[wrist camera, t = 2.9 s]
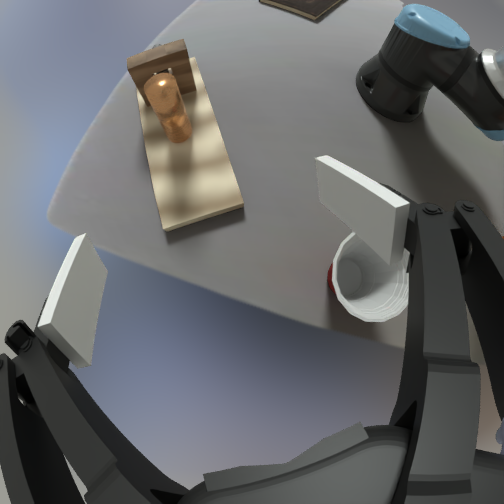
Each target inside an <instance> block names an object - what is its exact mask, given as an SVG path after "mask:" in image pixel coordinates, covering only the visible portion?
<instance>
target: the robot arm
mask: <svg viewBox="0 0 504 504" xmlns="http://www.w3.org/2000/svg"><path fill="white" fill-rule="evenodd" d="M469 45H470V38H469V36H468V35H467V33H466V32H465V30H463V29H462V28H461V27H460V26H459V25H458V24H457V23H456V22H455V21H453V20H452V19H451V18H449V17H448V16H446V15H444V14H442V13H441V12H439V11H437V10H435V9H432V8H430V7H427V6H424V5H420V4H410V5H407V6H405V7H404V8H403V10H402V11H401V13H400V14H399V16H398V17H396V19H395V23H394V25H393V27H392V29H391V31H390V33H389V35H388V37H387V38H386V40H385V42H384V44H383V46H382V48H381V49H380V51H379V53H378V54H377V55H375V56H374V57H373V58H371V59H370V60H368V61H367V62H366V63H364V64H363V65H362V66H361V68H360V69H359V71H358V73H357V76H356V85H357V88H358V90H359V92H360V94H361V95H362V97H363V98H364V100H365V101H366V102H367V103H368V104H369V105H370V106H371V107H372V108H373V109H375V110H376V111H377V112H379V113H380V114H382V115H384V116H385V117H387V118H390V119H392V120H395V121H399V122H410V121H413V120H414V119H416V118H417V117H418V116H419V115H420V113H421V112H422V111H423V108H424V105H425V102H426V99H427V95H428V92H429V90H430V89H431V88H432V86H433V85H434V86H435V87H436V88H437V89H439V90H440V91H441V92H442V93H443V94H444V95H445V96H446V97H448V98H449V99H450V100H451V101H452V102H453V103H454V104H455V105H456V106H457V107H458V108H459V109H460V110H461V111H462V112H463V113H464V114H465V115H466V116H467V117H468V118H469V119H470V120H471V121H472V123H473V124H474V125H475V126H476V127H477V128H478V129H480V130H481V131H482V132H483V133H484V134H485V135H486V136H487V137H488V138H490V139H492V140H495V141H503V140H504V46H503V47H502V48H501V49H500V50H498V51H495V50H492V49H485V50H484V51H482V52H481V53H480V54H478V53H477V52H476V51H475V50H474V49H473V48H472V47H470V46H469ZM315 162H316V171H317V181H318V191H319V202H320V203H322V204H323V205H324V206H325V207H326V208H327V209H329V210H330V211H331V212H332V213H333V214H334V215H336V216H337V217H338V218H339V219H340V220H341V221H342V222H343V223H345V224H346V225H347V226H348V227H349V228H350V229H351V230H352V231H353V232H355V233H356V234H357V235H358V236H359V237H360V238H361V239H362V240H363V241H364V242H365V243H366V244H367V245H369V246H370V247H371V248H372V249H373V250H374V251H375V252H376V253H377V254H378V255H379V256H380V257H381V258H382V259H383V260H384V261H385V262H386V263H387V264H388V265H392V264H394V263H396V262H398V261H400V260H402V258H403V252H404V248H405V249H406V250H407V251H409V252H410V255H409V260H408V265H407V270H406V273H408V272H409V293H408V317H407V331H406V342H405V352H404V360H403V368H402V375H401V382H400V388H399V393H398V398H397V402H396V405H395V408H394V410H393V413H392V416H391V419H390V423H389V425H376V426H370V427H369V426H368V427H364V428H363V426H362V424H361V422H359V423H357V424H355V425H353V426H351V427H348V428H346V429H345V430H342V431H340V432H338V433H336V434H333V435H331V436H329V437H327V438H324V439H323V440H321V441H320V442H318V443H317V444H315V445H314V446H312V447H311V448H309V449H308V450H307V451H305V452H304V453H302V454H300V455H299V456H297V457H296V458H294V459H293V460H291V461H289V462H287V463H284V464H275V465H259V466H239V467H236V468H231V469H226V470H222V471H217V472H211V473H206V474H203V476H204V480H205V481H203V482H201V483H200V484H198V485H196V486H195V487H193V488H192V489H191V490H188V489H187V488H185V487H183V486H182V485H180V484H178V483H177V482H175V481H173V480H171V479H170V478H168V477H167V476H166V475H165V474H163V473H162V472H161V471H160V470H159V469H158V468H157V467H155V466H154V465H153V464H152V463H151V462H150V461H149V460H148V459H147V458H146V457H145V456H144V455H143V454H142V453H141V452H140V451H138V449H136V447H135V446H133V444H132V443H131V442H130V441H129V440H128V439H127V438H126V437H125V436H124V435H123V434H122V433H121V432H120V431H119V430H118V428H117V427H116V426H115V425H114V424H113V423H112V422H111V421H110V419H109V418H108V417H107V416H106V415H105V414H104V412H103V411H102V410H101V409H100V408H99V406H98V405H97V404H96V402H95V401H94V400H93V399H92V397H91V396H90V395H89V393H88V392H87V391H86V389H85V388H84V387H83V385H82V384H81V383H80V381H79V380H78V378H77V377H76V376H75V374H74V373H73V372H72V371H71V370H70V369H69V368H68V366H69V361H71V362H72V363H73V364H74V365H75V366H76V367H77V368H82V367H87V366H91V361H92V353H93V345H94V338H95V332H96V326H97V320H98V315H99V310H100V304H101V299H102V294H103V290H104V286H105V281H106V277H107V273H108V271H107V270H106V268H105V266H104V264H103V263H102V261H101V259H100V257H99V256H98V254H97V252H96V250H95V249H94V247H93V245H92V243H91V241H90V239H89V238H88V236H87V234H86V233H85V234H83V235H80V236H78V237H76V238H75V239H74V241H73V243H72V245H71V247H70V249H69V251H68V254H67V255H66V258H65V260H64V262H63V264H62V266H61V269H60V271H59V273H58V275H57V278H56V280H55V282H54V284H53V287H52V289H51V292H50V294H49V296H48V297H47V298H46V300H45V302H44V305H43V309H42V310H41V313H40V316H39V318H38V321H37V324H36V327H35V330H34V332H33V331H32V330H31V329H30V328H29V327H28V326H27V325H26V323H25V322H24V321H23V320H19V321H16V322H15V323H14V324H13V325H12V326H11V327H10V328H9V330H8V332H7V334H6V336H5V343H6V344H7V345H8V346H9V347H10V348H11V349H12V350H13V351H14V352H15V353H16V354H17V355H18V356H17V357H15V358H14V359H12V360H11V359H10V358H9V357H8V356H7V355H6V354H1V355H0V465H1V469H2V473H3V477H4V481H5V485H6V488H7V492H8V495H9V498H10V501H11V504H85V502H84V500H83V498H82V496H81V494H80V492H79V490H78V488H77V486H76V484H75V482H74V479H73V477H72V475H71V472H70V470H69V468H68V465H67V463H66V460H65V457H66V459H67V460H68V462H69V463H70V465H71V466H72V468H73V469H74V470H75V472H76V473H77V475H78V476H79V478H80V479H81V480H82V482H83V483H84V485H85V486H86V488H87V490H88V492H87V493H86V494H85V495H84V497H85V501H86V502H87V504H504V239H503V238H502V236H501V235H500V234H499V232H498V231H497V230H496V228H495V227H494V226H493V224H492V223H491V222H490V220H489V219H488V218H487V217H486V215H485V214H484V213H483V212H482V211H481V209H480V208H479V207H478V206H477V205H475V204H474V203H472V202H470V201H467V200H460V201H457V202H456V203H455V208H454V211H451V212H444V210H443V209H442V208H441V207H439V206H437V205H435V204H430V203H422V204H417V203H415V202H414V201H412V200H411V199H409V198H408V197H406V196H404V195H402V194H401V193H400V192H398V191H396V190H395V189H393V188H391V187H390V186H388V185H384V184H381V183H377V182H375V181H373V180H372V179H370V178H368V177H366V176H365V175H363V174H361V173H359V172H358V171H356V170H354V169H352V168H350V167H348V166H347V165H345V164H343V163H341V162H339V161H337V160H335V159H333V158H331V157H329V156H327V155H326V156H321V157H317V158H315ZM471 248H472V251H471ZM465 301H466V304H467V306H468V309H469V312H470V314H471V317H472V320H473V323H474V325H475V328H476V331H477V334H478V337H479V341H480V344H481V347H482V351H483V354H484V358H485V361H486V365H487V369H488V373H489V377H490V381H491V386H492V391H493V395H494V399H495V403H496V406H497V410H498V413H499V416H500V418H501V421H502V423H501V427H500V428H499V429H498V430H497V433H496V440H497V442H498V443H499V444H502V450H501V453H500V454H496V453H492V452H487V451H482V450H478V449H475V448H476V442H477V434H478V423H479V412H480V368H479V366H478V364H477V363H474V362H471V360H470V348H469V333H468V322H467V313H466V305H465ZM19 399H21V400H22V401H23V404H24V405H23V404H22V403H21V402H20V400H19ZM64 455H65V457H64Z"/></svg>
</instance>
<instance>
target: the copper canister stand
mask: <svg viewBox="0 0 504 504" xmlns="http://www.w3.org/2000/svg"><path fill="white" fill-rule="evenodd" d="M127 68H128V71H129V73H130V75H131V77H132V79H133V81H134V83H135V85H136V88H137V96H138V103H139V110H140V117H141V123H142V130H143V136H144V141H145V147H146V153H147V158H148V163H149V168H150V173H151V178H152V183H153V187H154V192H155V197H156V201H157V205H158V210H159V214H160V218H161V222H162V226H163V229H164V230H165V231H167V232H168V231H171V230H174V229H177V228H180V227H183V226H186V225H189V224H192V223H195V222H198V221H201V220H204V219H207V218H210V217H213V216H216V215H219V214H222V213H226V212H229V211H232V210H235V209H238V208H242V207H244V202H243V199H242V196H241V193H240V190H239V187H238V184H237V181H236V178H235V175H234V172H233V169H232V166H231V163H230V160H229V157H228V154H227V151H226V148H225V145H224V142H223V139H222V136H221V133H220V130H219V127H218V124H217V121H216V118H215V116H214V113H213V110H212V107H211V104H210V101H209V98H208V95H207V92H206V89H205V86H204V83H203V80H202V77H201V74H200V72H199V69H198V66H197V63H196V60H195V57H193V58H190V59H189V56H188V52H187V48H186V45H185V42H184V39H181V40H177V41H174V42H171V43H168V44H164V45H161V46H158V47H156V48H153V49H150V50H147V51H144V52H142V53H139V54H137V55H134V56H132V57H129V58H127ZM166 69H168V70H169V73H170V74H172V75H173V76H174V77H175V79H176V82H177V85H178V88H179V91H180V94H181V97H182V100H183V103H184V106H185V109H186V112H187V115H188V118H189V121H190V124H191V127H192V134H191V136H190V137H189V138H188V139H187V140H186V141H184V142H181V143H173V142H171V141H170V140H169V139H168V137H167V135H166V133H165V131H164V129H163V128H162V126H161V124H160V122H159V120H158V118H157V116H156V114H155V112H154V110H153V108H152V106H151V104H150V102H149V100H148V98H147V96H146V94H145V92H144V85H145V83H146V82H147V81H148V80H149V79H150V78H151V77H153V76H154V75H157V74H156V73H157V72H160V71H163V70H166Z"/></svg>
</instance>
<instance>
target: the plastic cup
mask: <svg viewBox="0 0 504 504" xmlns="http://www.w3.org/2000/svg"><path fill="white" fill-rule="evenodd" d="M409 255H410V252H409V251H407V250H406V249H405V248H404V252H403V258H402V260H400V261H398V262H396V263H394V264H392V265H388V264H387V263H386V262H385V261H384V260H383V259H382V258H381V257H380V256H379V255H378V254H377V253H376V252H375V251H374V250H373V249H372V248H371V247H370V246H369V245H367V244H366V243H365V242H364V241H363V240H362V239H361V238H360V237H359V236H358V235H357V234H356V233H355V232H352V233H351V234H350V235H349V236H348V237H347V238H346V239H345V240H344V241H343V242H342V243H341V244H340V247H339V249H338V251H337V253H336V255H335V258H334V260H333V263H332V264H331V266H330V268H329V271H328V279H327V280H328V283H329V287H330V289H331V290H332V291H333V292H334V293H335V294H336V295H337V298H338V300H339V301H340V302H341V303H342V305H343V306H344V307H345V308H346V309H347V311H348V312H349V313H350V314H351V315H353V316H356V317H358V318H360V319H362V320H364V321H366V322H384V321H386V320H388V319H391V318H393V317H395V316H397V315H399V314H400V313H401V312H402V311H403V310H404V308H405V307H406V306H407V305H408V293H409V272H408V273H406V270H407V265H408V260H409Z"/></svg>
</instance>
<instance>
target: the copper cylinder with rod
mask: <svg viewBox="0 0 504 504" xmlns="http://www.w3.org/2000/svg"><path fill="white" fill-rule="evenodd" d="M158 46H161V45H160V44H158V45H155V46H154V47H153V48H156V47H158ZM153 48H152V49H153ZM156 74H157V75H154V76H153V77H151V78H150V79H149V80H148V81H147V82H146V83H145V85H144V92H145V94H146V96H147V98H148V100H149V102H150V104H151V106H152V108H153V110H154V112H155V114H156V116H157V118H158V120H159V122H160V124H161V126H162V128H163V129H164V131H165V133H166V135H167V137H168V139H169V140H170V141H171V142H173V143H181V142H184V141H186V140H187V139H188V138H189V137H190V136H191V134H192V127H191V124H190V121H189V118H188V115H187V112H186V109H185V106H184V103H183V100H182V97H181V94H180V91H179V88H178V85H177V82H176V79H175V77H174V76H173V75H172V74H170V73H169V70H168V69H166V70H163V71H160V72H157V73H156Z"/></svg>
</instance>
